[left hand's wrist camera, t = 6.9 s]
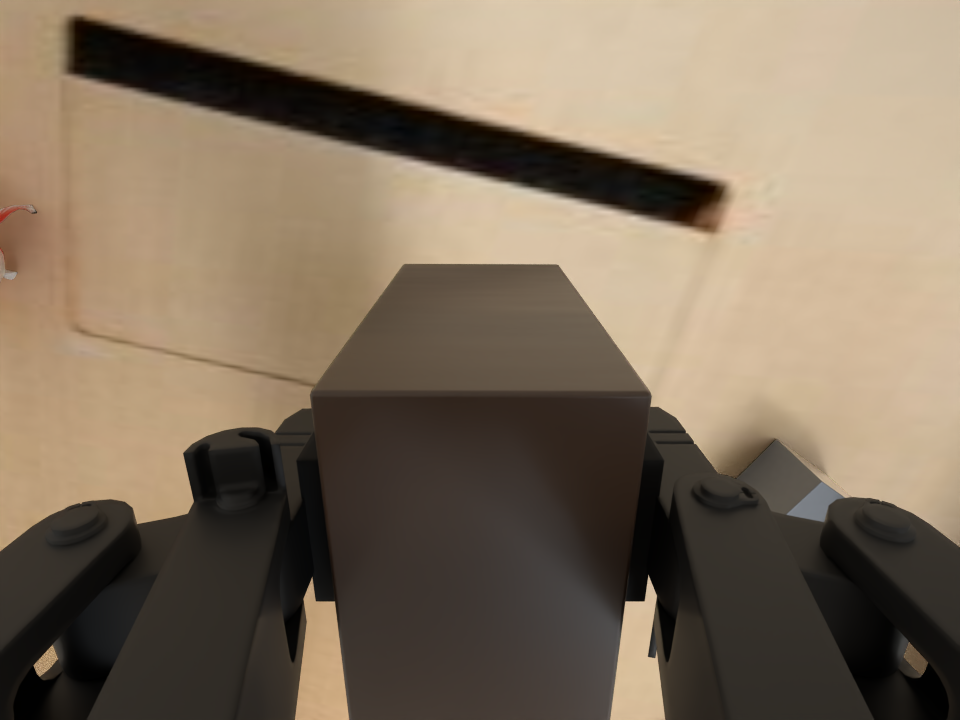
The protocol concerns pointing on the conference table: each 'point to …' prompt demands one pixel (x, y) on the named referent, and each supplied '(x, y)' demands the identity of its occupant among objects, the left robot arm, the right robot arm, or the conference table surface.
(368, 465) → the plank
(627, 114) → the conference table surface
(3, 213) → the fish
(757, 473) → the cube
